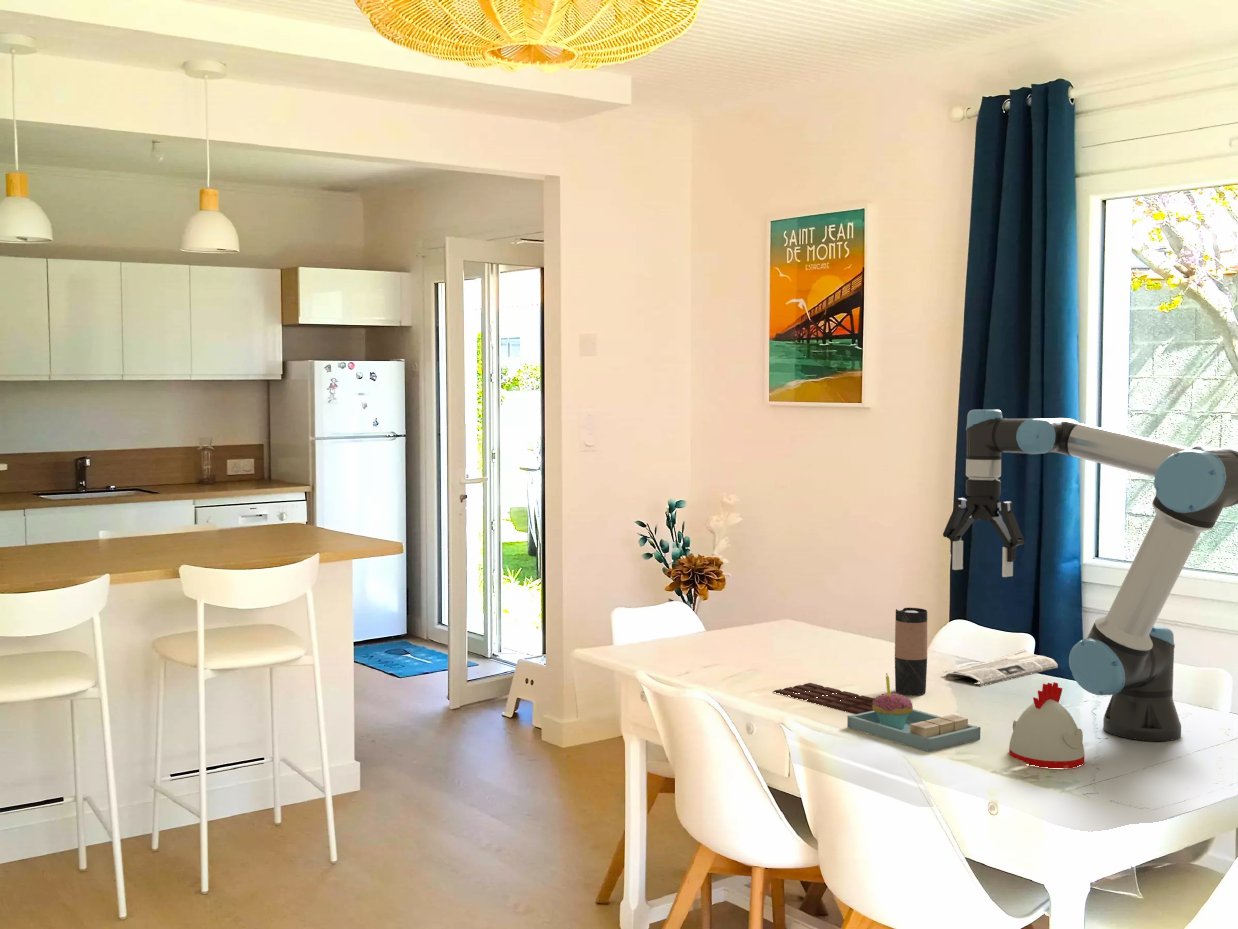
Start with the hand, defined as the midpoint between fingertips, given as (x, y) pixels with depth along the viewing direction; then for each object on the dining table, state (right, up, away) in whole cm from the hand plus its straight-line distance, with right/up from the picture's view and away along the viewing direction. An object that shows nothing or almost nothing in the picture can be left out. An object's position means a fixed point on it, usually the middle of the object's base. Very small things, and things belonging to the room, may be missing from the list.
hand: (982, 573), depth 266 cm
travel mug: (-11, -31, +21) cm, 39 cm away
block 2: (-16, -32, -23) cm, 43 cm away
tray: (-20, -33, -17) cm, 42 cm away
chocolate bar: (-31, -32, +14) cm, 46 cm away
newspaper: (+18, -30, +42) cm, 55 cm away
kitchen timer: (+2, -34, -33) cm, 47 cm away
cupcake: (-23, -32, -12) cm, 41 cm away
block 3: (-12, -32, -20) cm, 40 cm away
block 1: (-20, -32, -25) cm, 46 cm away
